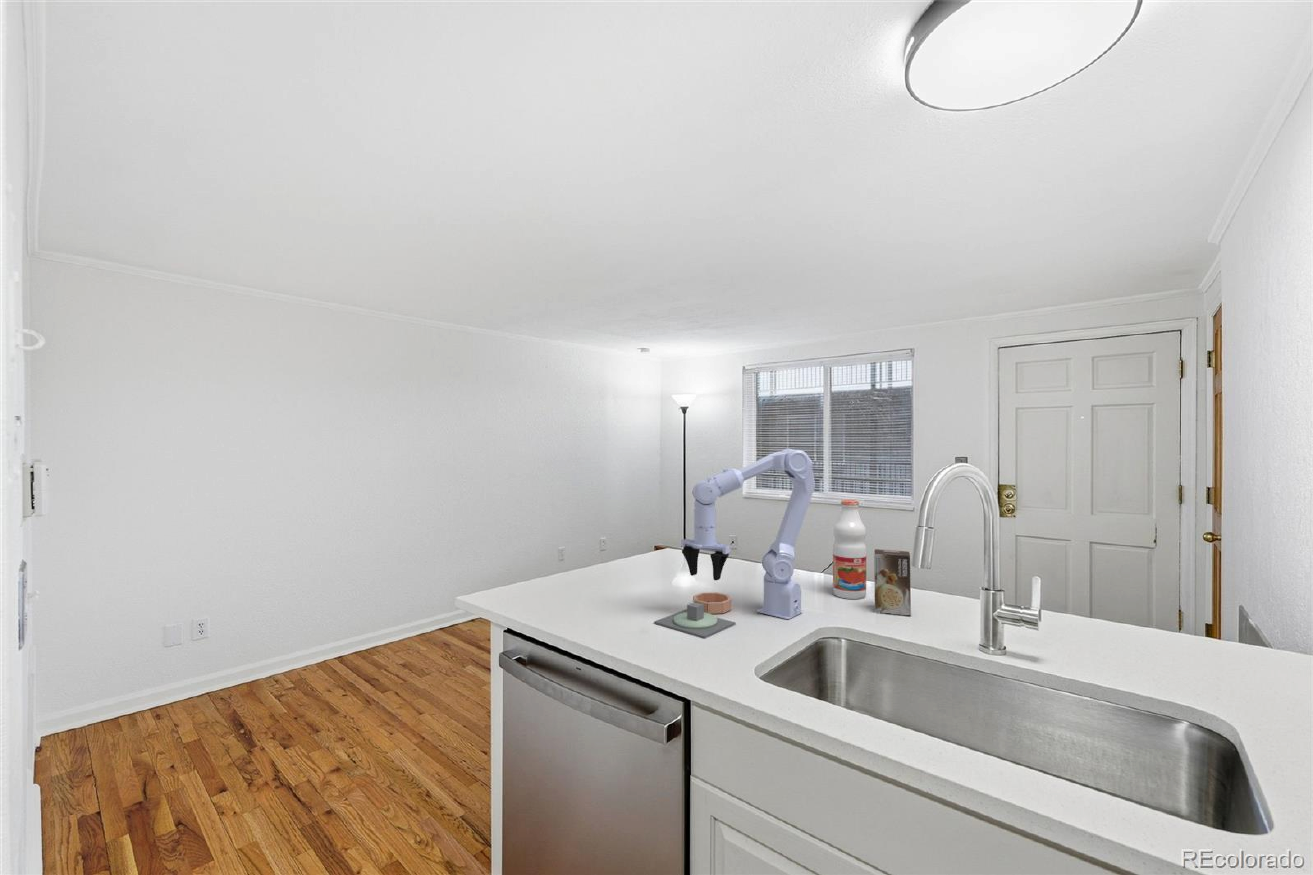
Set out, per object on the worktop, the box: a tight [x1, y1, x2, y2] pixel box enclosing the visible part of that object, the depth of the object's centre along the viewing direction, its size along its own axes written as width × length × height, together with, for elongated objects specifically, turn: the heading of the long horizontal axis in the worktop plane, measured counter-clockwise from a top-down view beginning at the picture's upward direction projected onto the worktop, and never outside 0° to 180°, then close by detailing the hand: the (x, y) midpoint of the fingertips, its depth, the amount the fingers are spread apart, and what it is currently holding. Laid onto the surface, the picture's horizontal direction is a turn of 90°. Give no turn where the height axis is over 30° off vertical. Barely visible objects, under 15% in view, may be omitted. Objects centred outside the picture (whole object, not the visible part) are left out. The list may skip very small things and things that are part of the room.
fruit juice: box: [832, 499, 867, 600], centre depth 174 cm, size 9×9×28 cm
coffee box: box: [873, 548, 912, 616], centre depth 159 cm, size 9×6×16 cm
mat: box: [653, 609, 736, 639], centre depth 149 cm, size 16×13×1 cm
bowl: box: [692, 591, 733, 615], centre depth 162 cm, size 10×10×3 cm
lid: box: [674, 602, 718, 629], centre depth 149 cm, size 11×11×4 cm
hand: (705, 577), depth 157 cm, fingers open, 7 cm apart
